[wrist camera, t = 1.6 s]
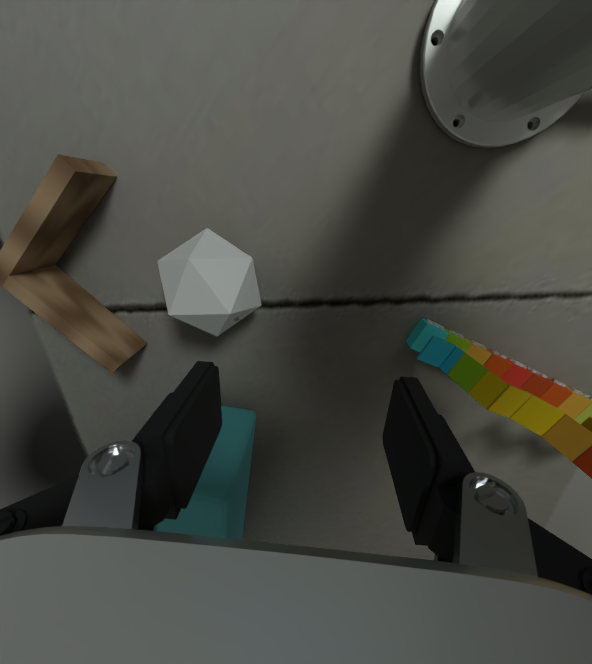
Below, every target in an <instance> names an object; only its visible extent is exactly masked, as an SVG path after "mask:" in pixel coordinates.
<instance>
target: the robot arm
mask: <svg viewBox="0 0 592 664" xmlns="http://www.w3.org/2000/svg"><path fill="white" fill-rule="evenodd" d="M432 40H434V41H435V42H436V46H433V45H432V43H431V41H432ZM420 79H421V88H422V92H423V96H424V99H425V103H426V106H427V108H428V110H429V112H430V114H431V116H432V117H433V119H434V121H435V122H436V123H437V124H438V126H439V127H440V128H441V129H442V130H443V132H445V133H446V134H447V135H449V136H450V137H451V138H453V139H454V140H456V141H458V142H460V143H463V144H465V145H468V146H472V147H479V148H494V147H502V146H506V145H510V144H514V143H516V142H519V141H522V140H525V139H527V138H530V137H532V136H534V135H535V134H537V133H539V132H541V131H542V130H544V129H546V128H548V127H549V126H550V125H552V124H553V123H554V122H555V121H557V120H558V119H559V118H560V117H562V116H563V115H564V114H565V113H566V112H567V111H568V110H569V109H570V108H571V107H572V106H573V105H574V104H575V103H576V102H577V101H578V100H579V99H580V97H581V96H582V95H583V93H584V92H585V91H586V90H589V89H591V88H592V0H436V1H435V2H434V4H433V7H432V10H431V12H430V15H429V18H428V21H427V24H426V27H425V31H424V36H423V41H422V45H421V53H420ZM454 120H455V121H456V122H457V126H456V127H454V125H453V121H454ZM527 124H529V128H527ZM221 427H222V410H221V396H220V383H219V370H218V367H217V366H214V364H213V362H204V361H198V362H196V364H195V365H194V366H193V368H192V369H191V370H190V372H189V373H188V374H187V375H186V377H185V378H184V379H183V381H182V382H181V383H180V384H179V386H178V387H177V388H176V390H175V391H174V392H172V393H170V394H169V395H168V396H167V397H166V398H165V400H164V401H163V402H162V403H161V405H160V406H159V407H158V408H157V410H156V411H155V412H154V413H153V415H152V416H151V417H150V419H149V420H148V421H147V422H146V424H145V425H144V426H143V427H142V429H141V430H140V431H139V433H138V434H137V435H136V436H135V438H134V439H133V440H132V441H126V440H123V441H116V442H112V443H109V444H106V445H104V446H102V447H100V448H98V449H97V450H96V451H94V452H93V453H91V454H90V456H89V457H88V458H87V459H86V460H85V462H84V464H83V466H82V468H81V471H80V474H79V475H77V476H75V477H73V478H71V479H69V480H66V481H64V482H62V483H59V484H57V485H55V486H52V487H51V488H48V489H46V490H43V491H41V492H39V493H37V494H34V495H33V496H30V497H28V498H25V499H23V500H21V501H19V502H16V503H14V504H12V505H9V506H7V507H5V508H3V509H0V664H592V559H591V558H589V557H588V556H586V555H585V554H583V553H581V552H580V551H578V550H577V549H575V548H574V547H572V546H571V545H569V544H567V543H566V542H564V541H563V540H561V539H560V538H558V537H556V536H555V535H553V534H552V533H550V532H549V531H547V530H546V529H544V528H543V527H541V526H539V525H538V524H536V523H535V522H533V521H532V520H530V519H529V518H528V517H527V511H526V507H525V505H524V502H523V500H522V499H521V497H520V496H519V495H518V493H517V492H516V491H515V490H514V489H513V488H512V487H510V486H509V485H508V484H506V483H505V482H503V481H502V480H500V479H498V478H496V477H494V476H492V475H489V474H485V473H478V472H475V471H474V469H473V468H472V466H471V464H470V462H469V461H468V459H467V457H466V455H465V454H464V452H463V450H462V449H461V447H460V445H459V443H458V442H457V440H456V438H455V437H454V435H453V433H452V431H451V430H450V428H449V426H448V424H447V423H446V421H445V419H444V418H443V417H442V415H440V414H437V412H436V410H435V408H434V407H433V405H432V403H431V401H430V400H429V398H428V396H427V394H426V393H425V391H424V389H423V387H422V385H421V384H420V382H419V380H418V379H417V378H414V377H400V379H399V380H395V381H394V385H393V390H392V394H391V399H390V404H389V408H388V413H387V418H386V422H385V427H384V432H383V445H384V449H385V453H386V456H387V460H388V464H389V468H390V471H391V475H392V479H393V483H394V486H395V490H396V494H397V498H398V501H399V505H400V509H401V513H402V516H403V520H404V524H405V527H406V530H407V531H408V532H412V534H413V538H414V541H415V544H416V545H426V546H428V548H429V549H430V550H431V551H432V552H434V553H435V556H434V560H425V559H416V558H407V557H398V556H389V555H380V554H371V553H362V552H353V551H344V550H334V549H325V548H315V547H306V546H296V545H287V544H277V543H268V542H258V541H249V540H239V539H229V538H219V537H209V536H199V535H189V534H179V533H169V532H159V531H157V524H159V523H160V522H162V521H164V519H173V520H176V519H177V517H178V515H179V513H180V511H181V509H185V508H186V507H187V506H188V504H189V502H190V499H191V497H192V495H193V492H194V490H195V488H196V486H197V483H198V481H199V479H200V476H201V474H202V472H203V469H204V467H205V465H206V463H207V460H208V458H209V456H210V453H211V451H212V449H213V446H214V444H215V442H216V439H217V437H218V435H219V433H220V430H221Z"/></svg>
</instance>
